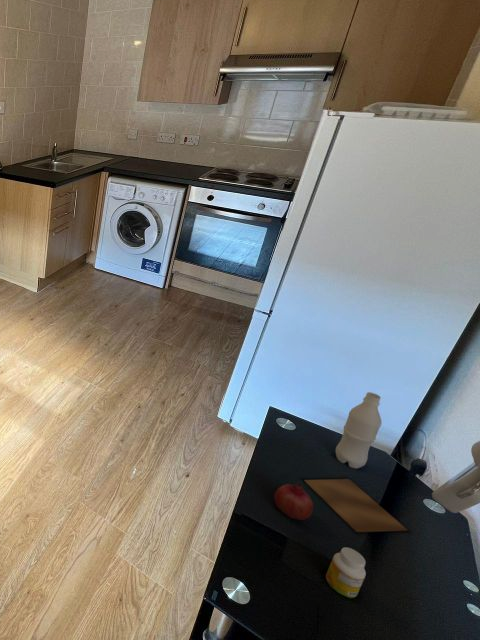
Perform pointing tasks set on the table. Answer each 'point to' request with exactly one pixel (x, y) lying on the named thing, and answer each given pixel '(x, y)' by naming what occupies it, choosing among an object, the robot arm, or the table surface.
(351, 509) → the cork mat
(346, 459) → the water bottle
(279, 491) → the fruit
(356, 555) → the supplement bottle
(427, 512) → the table surface
